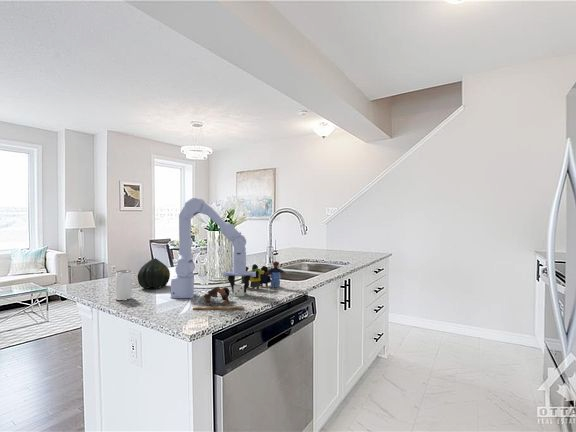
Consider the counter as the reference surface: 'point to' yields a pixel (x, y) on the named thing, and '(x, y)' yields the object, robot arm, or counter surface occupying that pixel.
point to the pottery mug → (213, 293)
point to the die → (239, 289)
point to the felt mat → (239, 296)
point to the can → (123, 285)
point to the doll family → (264, 276)
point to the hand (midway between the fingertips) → (239, 292)
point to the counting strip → (218, 308)
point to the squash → (153, 274)
